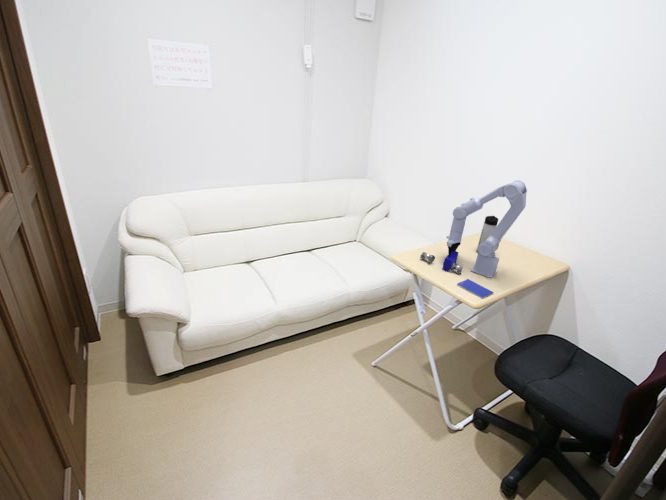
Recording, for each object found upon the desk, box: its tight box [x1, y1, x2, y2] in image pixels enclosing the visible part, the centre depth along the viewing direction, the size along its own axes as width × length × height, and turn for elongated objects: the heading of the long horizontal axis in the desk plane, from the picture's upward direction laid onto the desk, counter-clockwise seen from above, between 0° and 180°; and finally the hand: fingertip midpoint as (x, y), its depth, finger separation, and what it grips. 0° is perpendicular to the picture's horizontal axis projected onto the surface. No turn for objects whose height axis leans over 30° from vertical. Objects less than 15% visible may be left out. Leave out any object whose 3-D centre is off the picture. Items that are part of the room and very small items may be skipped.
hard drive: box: [456, 278, 494, 299], centre depth 149 cm, size 2×8×12 cm
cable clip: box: [442, 250, 460, 272], centre depth 166 cm, size 12×4×6 cm, turn 146°
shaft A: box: [450, 262, 463, 275], centre depth 161 cm, size 4×4×4 cm
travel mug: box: [476, 215, 499, 254], centre depth 181 cm, size 6×7×20 cm
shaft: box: [419, 251, 436, 263], centre depth 169 cm, size 6×4×4 cm, turn 33°
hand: (450, 255), depth 173 cm, fingers closed
